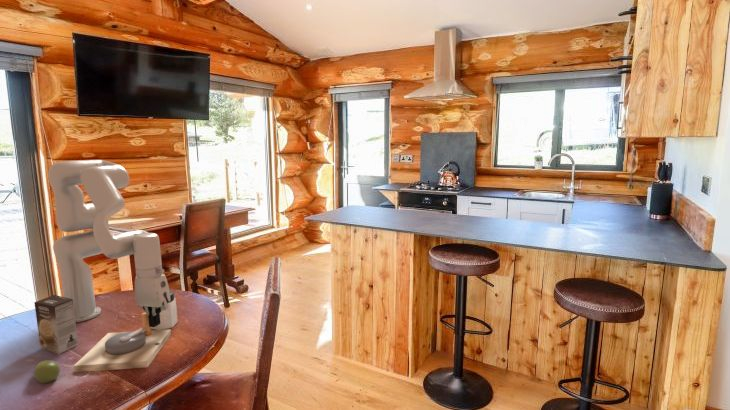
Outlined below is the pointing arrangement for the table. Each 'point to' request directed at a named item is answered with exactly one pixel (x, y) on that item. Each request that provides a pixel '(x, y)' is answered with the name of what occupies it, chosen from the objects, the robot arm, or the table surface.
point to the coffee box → (56, 323)
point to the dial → (129, 339)
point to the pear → (46, 371)
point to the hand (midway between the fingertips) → (155, 325)
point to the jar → (168, 315)
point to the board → (135, 359)
